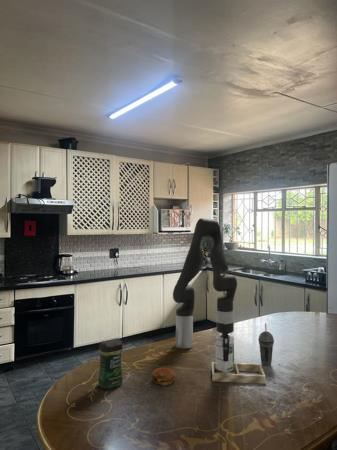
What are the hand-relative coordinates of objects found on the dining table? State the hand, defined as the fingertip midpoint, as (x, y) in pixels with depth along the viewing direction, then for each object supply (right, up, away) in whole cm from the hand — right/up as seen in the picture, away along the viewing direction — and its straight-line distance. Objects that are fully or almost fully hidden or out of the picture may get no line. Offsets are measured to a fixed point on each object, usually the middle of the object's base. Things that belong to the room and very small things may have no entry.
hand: (225, 357), depth 152 cm
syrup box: (0, -5, 0) cm, 5 cm away
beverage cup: (+21, -8, +12) cm, 26 cm away
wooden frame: (+5, -8, -1) cm, 9 cm away
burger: (-27, -8, -5) cm, 29 cm away
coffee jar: (-49, -8, -9) cm, 50 cm away
